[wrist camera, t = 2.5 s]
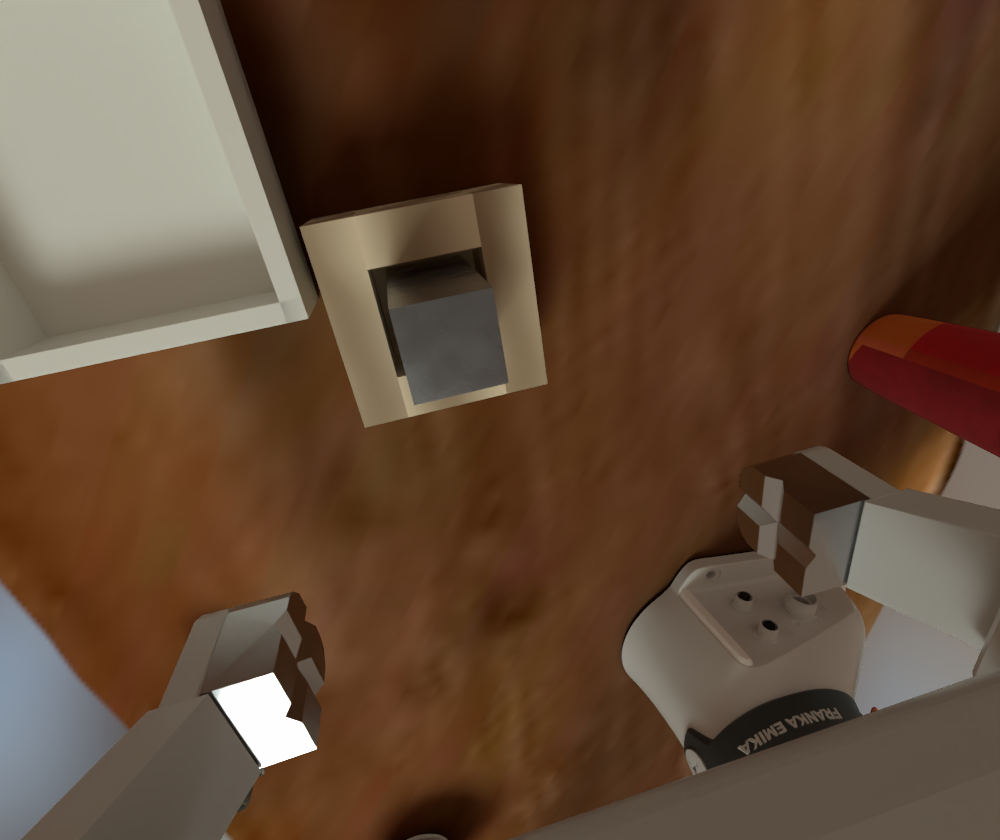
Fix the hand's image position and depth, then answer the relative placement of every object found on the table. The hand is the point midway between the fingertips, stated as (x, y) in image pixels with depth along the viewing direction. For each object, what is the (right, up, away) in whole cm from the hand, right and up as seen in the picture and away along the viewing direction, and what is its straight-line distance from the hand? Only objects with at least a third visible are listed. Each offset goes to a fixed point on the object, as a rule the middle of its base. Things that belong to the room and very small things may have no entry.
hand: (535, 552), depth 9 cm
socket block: (-5, +10, +20) cm, 23 cm away
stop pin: (-4, +9, +19) cm, 21 cm away
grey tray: (-19, +15, +14) cm, 28 cm away
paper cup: (+28, +8, +29) cm, 41 cm away
